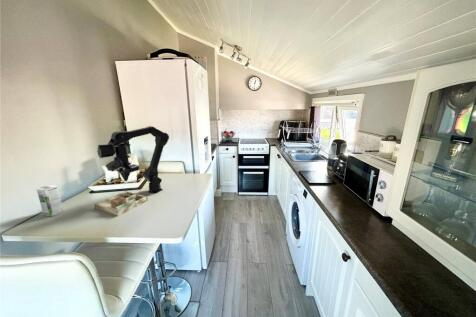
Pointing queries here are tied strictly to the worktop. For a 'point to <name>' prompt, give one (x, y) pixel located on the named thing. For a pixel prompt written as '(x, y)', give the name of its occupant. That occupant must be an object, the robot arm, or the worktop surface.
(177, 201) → the worktop surface
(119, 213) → the trap board
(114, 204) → the walnut block
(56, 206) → the syrup box
